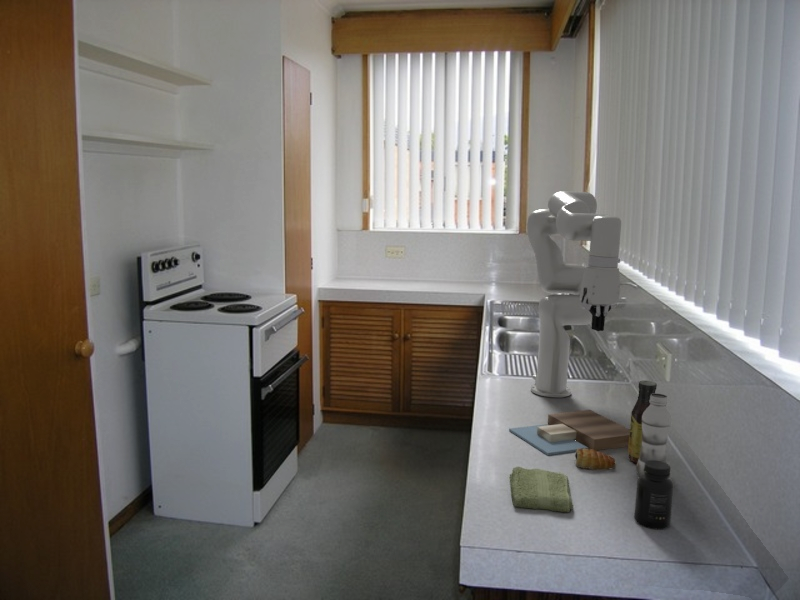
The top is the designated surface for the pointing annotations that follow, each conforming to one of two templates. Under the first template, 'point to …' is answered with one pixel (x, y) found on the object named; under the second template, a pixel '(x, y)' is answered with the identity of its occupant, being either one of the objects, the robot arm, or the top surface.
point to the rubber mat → (546, 441)
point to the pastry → (593, 460)
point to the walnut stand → (593, 429)
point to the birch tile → (556, 432)
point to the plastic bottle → (654, 431)
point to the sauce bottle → (639, 418)
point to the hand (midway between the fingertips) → (597, 329)
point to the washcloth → (540, 489)
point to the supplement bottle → (654, 496)
